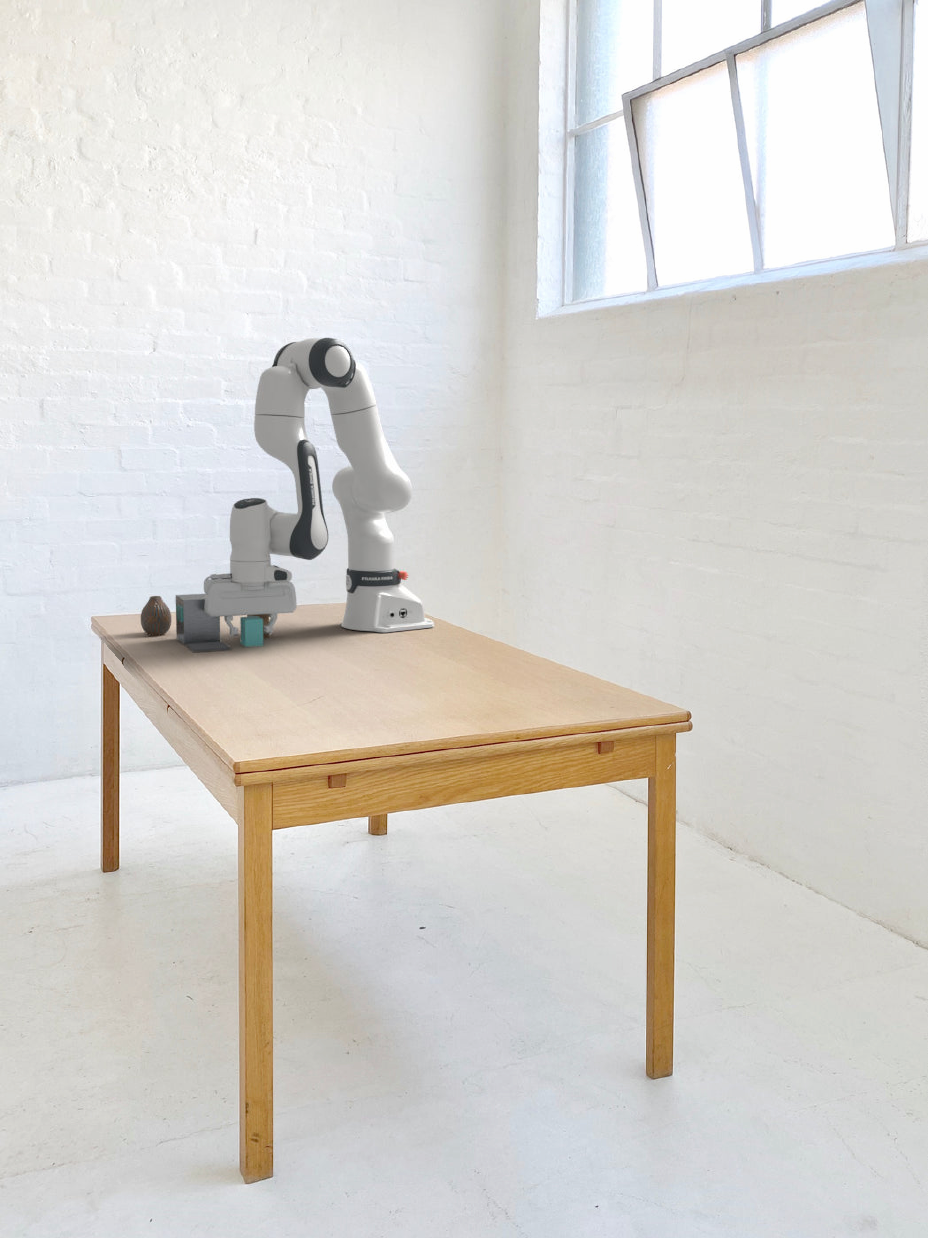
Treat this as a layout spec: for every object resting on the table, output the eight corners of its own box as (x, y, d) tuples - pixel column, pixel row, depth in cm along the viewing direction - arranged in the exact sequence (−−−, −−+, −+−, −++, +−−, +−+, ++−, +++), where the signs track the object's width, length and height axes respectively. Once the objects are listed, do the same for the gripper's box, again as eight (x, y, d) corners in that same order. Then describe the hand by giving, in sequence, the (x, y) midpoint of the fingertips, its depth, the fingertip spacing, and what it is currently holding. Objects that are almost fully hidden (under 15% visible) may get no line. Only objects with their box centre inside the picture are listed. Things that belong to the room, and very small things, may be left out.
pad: (222, 644, 266) (222, 641, 266) (230, 649, 259) (230, 647, 259) (186, 646, 262) (186, 643, 262) (193, 652, 256) (193, 649, 256)
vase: (167, 637, 273) (166, 599, 272) (137, 636, 273) (136, 598, 272) (175, 631, 280) (174, 594, 278) (145, 631, 280) (144, 594, 278)
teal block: (258, 642, 269) (257, 616, 268) (263, 645, 265) (262, 618, 264) (240, 643, 267) (240, 617, 266) (245, 646, 263) (245, 620, 262)
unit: (212, 636, 275) (211, 593, 273) (221, 642, 267) (220, 598, 266) (175, 638, 271) (174, 595, 269) (183, 645, 264) (182, 600, 262)
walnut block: (264, 634, 278) (263, 609, 277) (269, 637, 275) (268, 611, 274) (247, 635, 277) (247, 610, 276) (252, 638, 273) (251, 612, 272)
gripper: (207, 576, 256) (208, 639, 258) (298, 572, 265) (299, 634, 267) (200, 572, 262) (201, 634, 264) (290, 569, 270) (290, 629, 273)
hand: (251, 634), depth 266 cm, fingers open, 6 cm apart
